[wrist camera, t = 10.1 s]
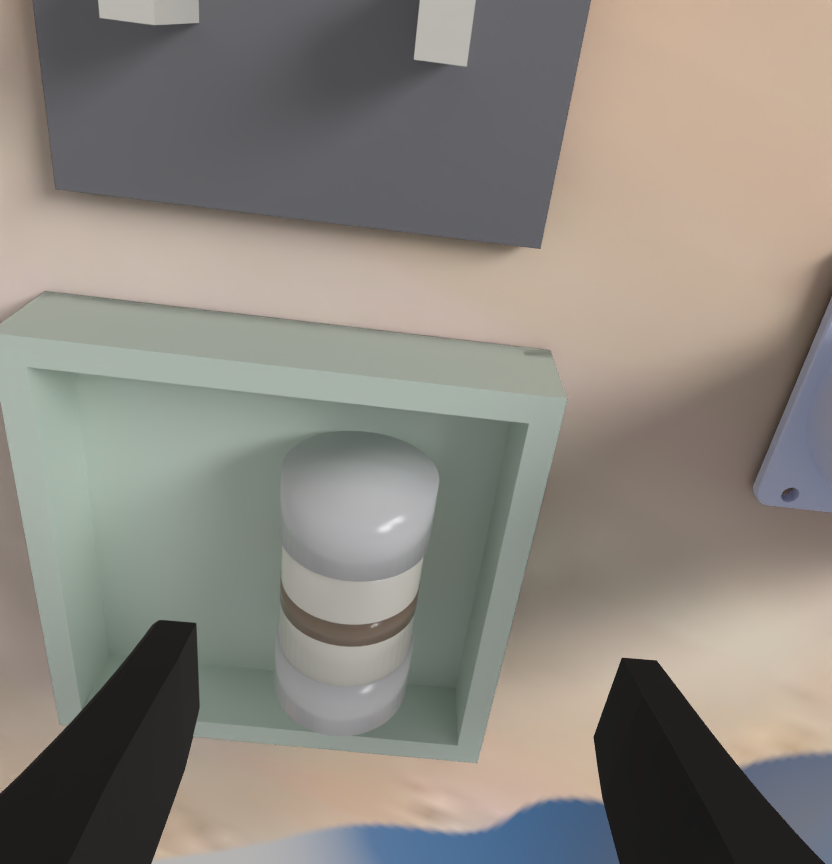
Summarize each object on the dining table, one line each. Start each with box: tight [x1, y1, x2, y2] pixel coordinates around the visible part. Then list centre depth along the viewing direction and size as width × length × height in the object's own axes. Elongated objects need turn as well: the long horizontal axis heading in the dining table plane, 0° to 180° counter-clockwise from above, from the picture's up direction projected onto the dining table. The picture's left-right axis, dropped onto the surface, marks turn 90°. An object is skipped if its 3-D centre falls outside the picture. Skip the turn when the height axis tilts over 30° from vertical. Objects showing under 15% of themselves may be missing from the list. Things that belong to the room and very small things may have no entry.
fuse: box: [274, 431, 439, 736], centre depth 22 cm, size 4×8×4 cm
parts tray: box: [0, 291, 567, 763], centre depth 23 cm, size 14×14×3 cm
